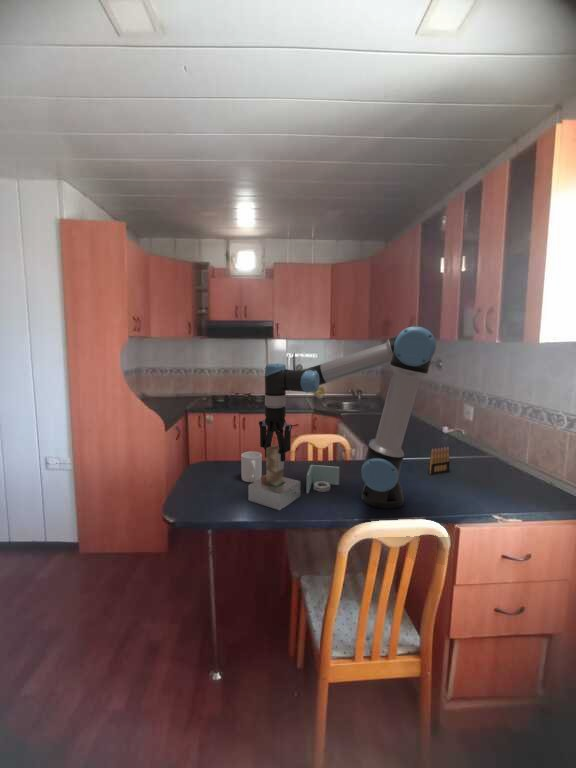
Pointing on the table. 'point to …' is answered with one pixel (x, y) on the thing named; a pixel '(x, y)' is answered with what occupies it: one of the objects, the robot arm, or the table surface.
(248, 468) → the mug
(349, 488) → the table surface
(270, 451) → the column
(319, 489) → the right angle wall
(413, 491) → the table surface
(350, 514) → the table surface
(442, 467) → the ammunition clip
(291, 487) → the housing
